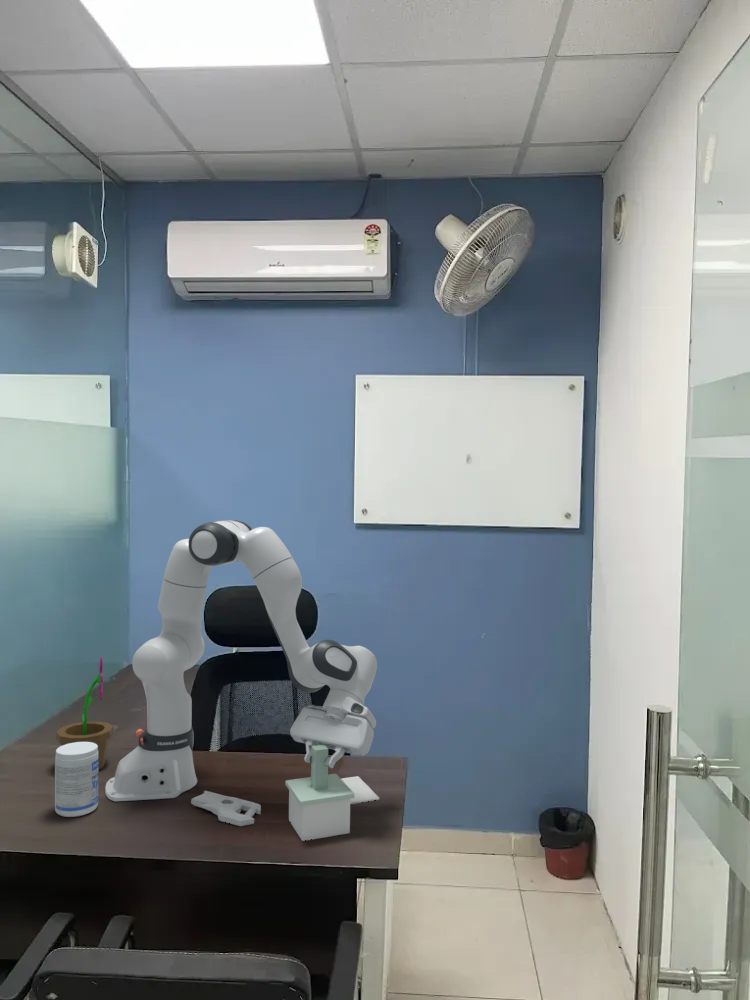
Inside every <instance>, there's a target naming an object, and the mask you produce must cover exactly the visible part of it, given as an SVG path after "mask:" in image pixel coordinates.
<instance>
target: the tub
mask: <svg viewBox="0 0 750 1000" xmlns="http://www.w3.org/2000/svg"><path fill="white" fill-rule="evenodd" d="M288 791H289V792H288V821H289V823H290V822H291V823H290V824H291V826H292V827H293V829H294V830H295V832H296V834H297V835H298V837H299V839H300V840H301V841H302V842H306V841H312V840H317V839H322V838H323V839H324V838H328V837H335V836H339V835H346V834H351V833H350V832H351V804H350V799H345V800H339V801H332V802H326V803H319V804H312V805H306V806H300V805H299V803H298V802H297V800H296V799H295V798H294V796H293V795H292V793H291V792H290V790H289V789H288ZM311 839H312V840H311ZM305 840H306V841H305Z"/></svg>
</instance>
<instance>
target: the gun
mask: <svg viewBox="0 0 750 1000" xmlns="http://www.w3.org/2000/svg"><path fill="white" fill-rule="evenodd" d="M190 803H191V804H192V806H195V807H198V808H201V809H205V810H206V811H210V812H212V814H214V815H216V816H217V818H218V821H220V822H222V823H225V822H226V823H225V824H229V823H230V824H231V825H233V826H237V827H244V826H249V825H250V826H251V825H254V824H255V818H253V817H254V816H255V813H256V815H259V816H261V814H262V813H261V811H262V807H261V804H259V803H257V802H253V801H249V800H246V799H243V798H242V799H241V798H240V797H234V796H228V795H223V794H219V793H216V792H212V791H208V790H204V791H203V792H202V794H200V795H197V796H195V797H193V798H191V801H190ZM242 811H243V812H245V813H244V814H243V813H241V812H242Z"/></svg>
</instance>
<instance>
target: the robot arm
mask: <svg viewBox="0 0 750 1000" xmlns="http://www.w3.org/2000/svg"><path fill="white" fill-rule="evenodd" d="M235 562H240V563H241V564H243V565H244V566H245V568H246V569H247V571H248V572H249V574H250V576H251V578H252V580H253V582H254V584H255V585H256V587H257V590H258V592H259V593H260V596H261V599H262V600H263V604H264V606H265V610H266V613H267V617H268V619H269V621H270V624H271V626H272V627H271V628H272V629H273V630H274V634H275V636H276V637H277V640H278V642H279V644H280V647H281V649H282V651H283V654H284V657H285V659H286V664H287V671H288V675H289V676H288V677H289V679H290V682H291V683H292V685H293V686H294V687H295V688H296V689H297V690H299V691H300V692H302V693H308V694H311V693H317V692H318V691H319V690H322V688H323V687H325V686H328V687H329V689H330V690H329V692H328V694H327V696H326V699H325V700H324V703H323V705H322V706H321V705H315V704H308V705H307V706H304V707H302V708H301V711H300V713H299V714H298V716H297V717H296V718H295V720H294V722H293V723H292V724H291V725H292V726H291V728H290V729H289V733H290V737H292V739H293V741H295V742H297V743H302V744H305V752H306V754H305V755H304V758H303V761H304V762H305V763H307V764H311V749H312V746H316V745H325V746H326V747H327V748H328V750H329V749H330V750H332V751H333V750H334V751H335V752H334V753H333V754H332V755H331V756H328V757H327V759H326V760H327V761H326V762H325V765H326V767H328V769H333V768H334V767H335V765H336V762H338V761H339V760H340V759H341V758H342V757H344V755H345V753H347V754H352V755H355V756H356V755H357V756H362V757H363V756H364V757H365V755H367V754H368V753H369V751H370V749H371V746H372V743H373V740H374V736H375V731H374V729H375V727H376V726H377V720H376V718H375V717H374V715H373V713H372V712H371V711H370V709H369V708H368V707H367V706H365V699H366V697H367V695H368V694H369V692H370V690H371V688H372V686H373V683H374V680H375V677H376V674H377V668H378V660H377V657H376V656H375V654H374V653H373V652H372V651H371V650H370V649H368V648H367V647H365V646H362V645H353V646H352V645H350V646H349V645H344V644H341V643H339V642H338V641H335V640H332V639H324V640H321V641H319V642H317V643H316V644H313V646H309V644H308V642H307V640H306V637H305V635H304V634H303V630H302V629H301V627H300V625H299V622H298V620H297V613H296V607H297V604H298V599H299V597H300V595H301V592H302V588H303V578H302V574H301V571H300V569H299V566H298V564H297V563H296V561H295V560H294V557H293V556H292V554H291V552H290V551H289V550H288V548H287V546H286V545H285V543H284V542H283V541H282V540H281V538H280V537H279V535H277V533H276V532H275V531H274V530H273V529H272V528H270V527H267V526H259V527H255V528H252V527H251V526H250V525H249V524H247V523H246V522H243V521H240V520H237V519H236V520H229V519H226V520H225V519H222V520H218V521H213V522H212V521H211V522H210V521H208V522H205V523H202V524H200V525H199V526H197V527H195V529H193V531H192V532H191V534H190V535H189V538H185V539H184V538H183V539H181V540H179V541H177V542H176V543H175V544H174V545H173V548H172V550H171V553H170V554H169V557H168V561H167V563H166V566H165V570H164V575H163V579H162V584H161V588H160V593H159V597H158V599H159V600H158V603H157V609H158V612H159V613H160V616H161V631H160V633H159V634H158V635H159V636H156V637H153V638H151V639H149V640H147V641H146V642H144V643H143V644H142V645H141V646H140V647H139V648H138V649H137V650H136V651H135V653H134V654H133V657H132V661H131V664H132V665H131V666H132V670H133V673H134V674H135V676H136V677H137V678H138V679H139V680H140V681H141V683H142V685H143V689H144V694H145V698H146V699H145V700H146V720H147V721H146V722H147V724H146V729H145V730H143V729H142V728H139V729H137V730H136V731H135V735H136V738H137V739H138V746H136V747H135V748H134V749H133V750H131V751H130V752H129V753H128V754H127V755H125V756H124V757H123V758H122V759H120V761H119V762H118V763H117V766H116V768H115V769H116V770H115V774H114V777H111V778H109V780H107V782H106V784H105V786H104V787H105V788H104V793H105V796H106V798H107V799H109V800H110V801H113V802H131V801H143V800H144V801H145V800H147V801H148V800H161V799H163V800H164V799H175V798H177V797H179V796H180V795H181V794H182V793H185V792H186V791H189V790H191V789H192V788H194V787H195V786H196V785H197V783H198V778H197V776H196V775H197V774H196V772H195V771H196V770H195V766H194V765H195V764H194V758H193V747H194V728H193V726H192V716H193V715H192V710H193V709H192V708H193V707H192V706H193V704H192V703H193V702H192V696H191V695H190V694H189V693H188V692H187V689H186V686H185V685H186V684H185V681H184V673H185V671H187V670H189V669H191V668H193V667H194V666H195V665H196V664H197V663H198V661H200V659H201V658H202V657H203V656H204V653H205V649H206V648H205V646H206V644H205V641H204V638H203V636H202V613H203V606H204V601H205V597H206V592H207V586H208V582H209V579H210V578H209V577H210V573H211V570H212V568H213V567H215V566H224V565H229V564H232V563H235Z"/></svg>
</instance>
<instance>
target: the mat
mask: <svg viewBox="0 0 750 1000" xmlns="http://www.w3.org/2000/svg"><path fill="white" fill-rule="evenodd" d="M340 778H341V777H340ZM341 779H342V780H343V782H344V783H345V784H346V785H347V786H348V787H349V788H350V789H351V790H352V792H353V793H354V798H352V799H350V805H356V804H361V803H362V802H363V803H368V801H369V802H375V801H374V800H376V801H380V797H379V796H378V795H377V794H376V793H375V792H374V791H373V790H372V788H370V786H369V785H368V784H367V783H365V782H364V781H363V780H362V778H361V777H360V776H358V775H357V776H350V777H348V776H347V777H344V778H341Z"/></svg>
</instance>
